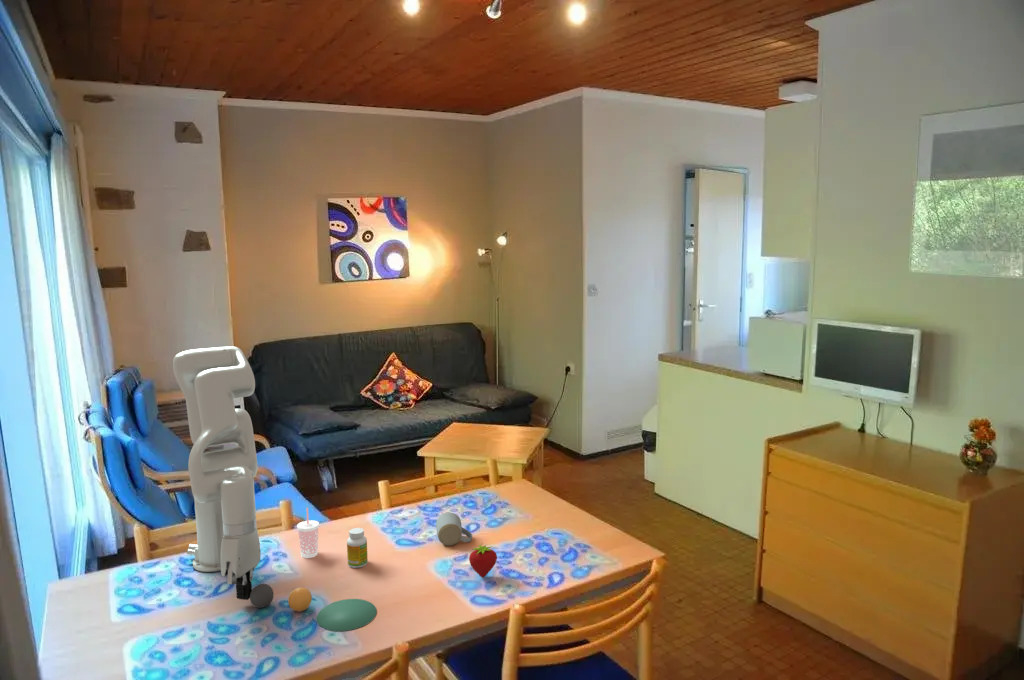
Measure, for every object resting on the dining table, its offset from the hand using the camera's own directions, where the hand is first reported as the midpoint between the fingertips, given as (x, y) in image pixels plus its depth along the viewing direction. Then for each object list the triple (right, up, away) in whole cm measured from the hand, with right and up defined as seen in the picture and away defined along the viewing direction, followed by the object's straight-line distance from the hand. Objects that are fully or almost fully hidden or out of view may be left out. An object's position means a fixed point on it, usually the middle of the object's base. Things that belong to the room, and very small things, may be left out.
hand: (244, 597), depth 167 cm
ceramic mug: (+48, +3, +37) cm, 61 cm away
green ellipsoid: (+26, -3, -4) cm, 27 cm away
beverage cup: (+8, +2, +28) cm, 29 cm away
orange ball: (+14, 0, -2) cm, 14 cm away
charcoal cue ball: (+4, +1, 0) cm, 4 cm away
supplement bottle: (+23, +1, +22) cm, 32 cm away
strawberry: (+58, 0, +14) cm, 60 cm away
